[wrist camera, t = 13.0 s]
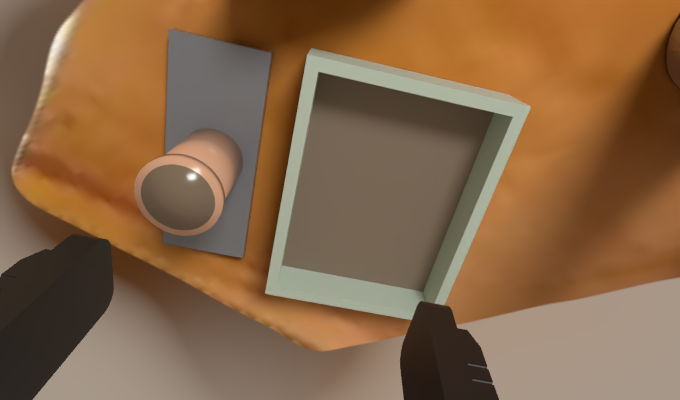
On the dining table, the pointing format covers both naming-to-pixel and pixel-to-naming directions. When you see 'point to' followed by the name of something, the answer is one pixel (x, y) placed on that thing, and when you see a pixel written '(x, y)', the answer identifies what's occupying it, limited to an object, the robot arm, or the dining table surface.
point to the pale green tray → (386, 184)
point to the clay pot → (189, 183)
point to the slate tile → (218, 121)
